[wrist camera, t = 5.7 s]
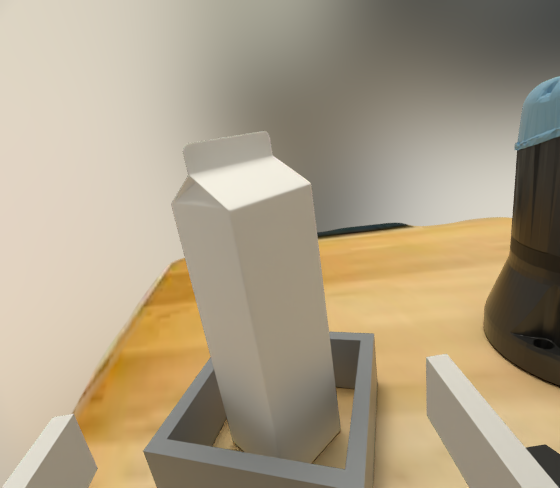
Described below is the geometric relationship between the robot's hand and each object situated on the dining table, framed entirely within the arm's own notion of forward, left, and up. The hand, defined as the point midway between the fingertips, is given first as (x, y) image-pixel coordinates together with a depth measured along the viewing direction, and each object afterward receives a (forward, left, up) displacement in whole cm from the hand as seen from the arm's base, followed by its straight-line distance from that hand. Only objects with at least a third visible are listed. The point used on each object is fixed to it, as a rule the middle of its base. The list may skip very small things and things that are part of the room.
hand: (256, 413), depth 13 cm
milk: (+3, -9, -12) cm, 16 cm away
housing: (+3, -9, -12) cm, 16 cm away
